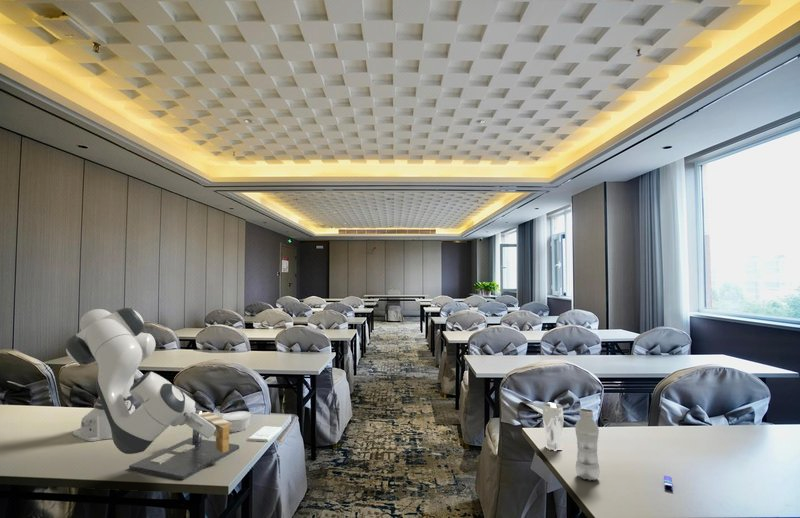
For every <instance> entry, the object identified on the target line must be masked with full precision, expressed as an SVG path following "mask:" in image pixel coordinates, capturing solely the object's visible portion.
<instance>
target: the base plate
mask: <svg viewBox="0 0 800 518" xmlns="http://www.w3.org/2000/svg"><path fill="white" fill-rule="evenodd" d="M195 413H196V414H201V413H203V410H202V409H196V411H195ZM202 437H203V435H201V434H200V433H198V432H197V431H195V430H194V429H192V437H189V438H186V439H183V440H182V441H180V442H178V443H176V444H174V445H171V446H169V447H167V448H164V449H162V450H160V451H158V452H156V453H154V454H152V455H149V456H147V457H145V458H143V459H141V460H139V461H136V462H134V463H132V464H129V466H128V470H131V471H135V472H140V473H146V474H149V473H151V474H150V475H154V476H160V477H166V478H171V479H175V480H180V481H185V480H186V479H188V478H190V477H191V476H193V475H195V474H197V473H198V472H200V471H202V470H203V469H205V468H207V467H210V466H211V465H213V464H215V463H217V462H218V461H220V460H221V459H223V458H225V457H227V456H229V455H230V454H232V453H234V452H236V451H237V450H239V449H240V444H234V443H229V451H227V452H224V453H222V452H220V451H218V450H217V449H216V440H209V439H202Z"/></svg>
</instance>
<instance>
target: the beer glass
mask: <svg viewBox="0 0 800 518" xmlns="http://www.w3.org/2000/svg"><path fill="white" fill-rule="evenodd" d="M542 422H543V428H544V434H545V441H544V448H545V447H546V448H548V449H550V450H561V449H564V447H563V442H562V435H563V428H564V407H563V405H562V404H560V403H557V402H544V403H543V404H542ZM546 448H545V449H546ZM548 449H547V450H548ZM550 450H549V451H550Z"/></svg>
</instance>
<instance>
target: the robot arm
mask: <svg viewBox="0 0 800 518" xmlns="http://www.w3.org/2000/svg"><path fill="white" fill-rule="evenodd" d="M79 322H80V323H79V328H80V330H81V331H79V332H78V333H76V334H73V335H71V336H70V338H68V339H67V340H66V341H65V345H64V346H65V352H66V354H67V356H68V358H69V359H70V360H71V361H73V362H74V363H77V364H79V365H84V366H87V365H90V364H92V363H97V366H98V375H97V379H96V382H95V387H96V391H97V394H98V397H97V398H95V399H93V403H94V404H95V405H94V408H93V409H92V410H90V411H89V412H88V413H87V414H85V415H84V416H83V417H82V418H81V421H80V428H78V429H75V430H74V431H72V436H75V437H77V438H80V439H82V440H85V441H86V442H96V441H101V440H109V439H112V441H113V444H114V446H115V447H116V448H117V449H118V450H119V451H120V452H121V453H123V454H126V455H134V454H139V453H143V452H145V451H146V450H147V449H148V448H149V447H150V445H152V443H153V442H155V440H156V439H157V438H158V437H159V436H160V435H161V434H163V432H165V430H166V429H168V428H169V427H170V426H171V427H177V426H183V425H186V426H188V427H190V428H191V429H192V430H193V429H194V430H195V431H197V432H198V433H200V434H201V435H202V437H204V438H206V439H210V438H211V437H213V435H214V434H215V432H216V427H215V426H213V425H212V424H211V423H209V422H208V421H207V420H205V419H204V418H203V417H201V416H200V415H198V414H196V413H195V411H196V410H197V408H196V407H195V406H196V401H195V400H194V399H192V398H191V397H190V396H188V395H187V394H186V393H185V392H183V391H182V390H181V389H179V387H178V386H176V385H175V384H173V383H171V382H170V381H169V380H168V379H166V378H164V377H163V376H161V375H160V374H157V373H155V372H154V371H148V372H146V373H144V374H143V375H141V376H140V377H139V378H138V379H137V380H135V375H136V372H137V370H138V368H139V367H140V365H141V364H142V363H143V362H144V361H146V360H147V359H148V358H150V356H151V355H153V353H154V351H155V350H156V346H157V345H156V344H157V343H156V339H155V337H154V336H153V335H152V334H151V333H147V332H143V331H145V321H144V319H143V316H142V315H141V314H140V313H139V312H138V311H136V310H134V309H133V308H131V307H123V308H120V309H116V310H115V311H114V312H110V311H109V310H106V309H104V308H103V309H102V308H97V309H96V308H94V309H91V310H89V311H87V312H86V313H85V314H83V316H82V317H81V318H80V321H79ZM134 380H135V382H134ZM135 400H136V401H137V402H138V403H140V405H139V406H138V407H137V408H136V407H135V405H134V403H135Z"/></svg>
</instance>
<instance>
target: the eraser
mask: <svg viewBox="0 0 800 518" xmlns="http://www.w3.org/2000/svg"><path fill="white" fill-rule="evenodd" d="M672 479H673V477H672V476H670V475H663V485H664V489H666V486H669V487H670V490H672V491H673V480H672Z"/></svg>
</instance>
